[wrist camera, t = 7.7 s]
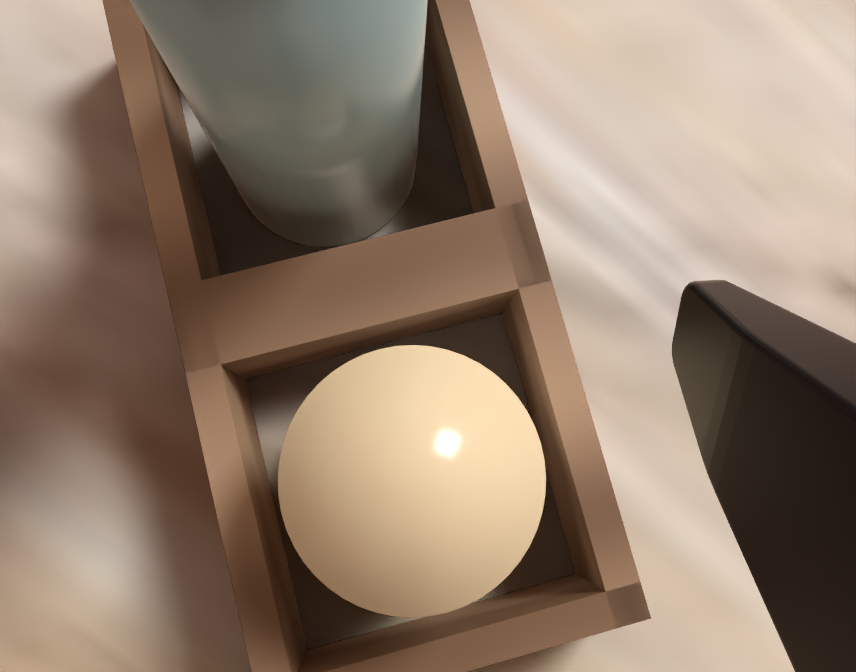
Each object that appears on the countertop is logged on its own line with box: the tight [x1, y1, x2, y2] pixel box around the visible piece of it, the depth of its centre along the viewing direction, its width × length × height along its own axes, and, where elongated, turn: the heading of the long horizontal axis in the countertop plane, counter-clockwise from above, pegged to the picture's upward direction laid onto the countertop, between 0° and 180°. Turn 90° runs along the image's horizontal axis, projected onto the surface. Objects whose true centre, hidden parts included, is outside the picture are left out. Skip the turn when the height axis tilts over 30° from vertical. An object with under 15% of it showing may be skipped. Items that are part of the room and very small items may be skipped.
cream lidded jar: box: [278, 345, 546, 617], centre depth 19 cm, size 5×5×5 cm
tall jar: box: [130, 0, 428, 247], centre depth 16 cm, size 5×5×14 cm
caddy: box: [103, 0, 651, 672], centre depth 20 cm, size 18×9×3 cm, turn 15°
